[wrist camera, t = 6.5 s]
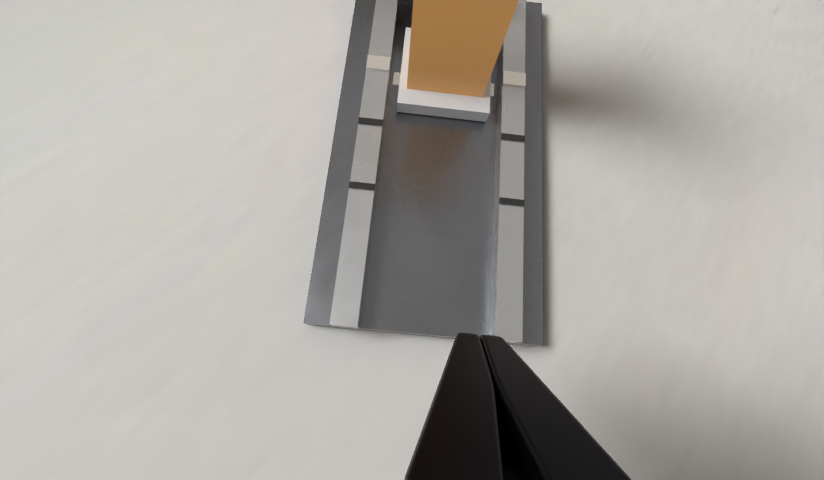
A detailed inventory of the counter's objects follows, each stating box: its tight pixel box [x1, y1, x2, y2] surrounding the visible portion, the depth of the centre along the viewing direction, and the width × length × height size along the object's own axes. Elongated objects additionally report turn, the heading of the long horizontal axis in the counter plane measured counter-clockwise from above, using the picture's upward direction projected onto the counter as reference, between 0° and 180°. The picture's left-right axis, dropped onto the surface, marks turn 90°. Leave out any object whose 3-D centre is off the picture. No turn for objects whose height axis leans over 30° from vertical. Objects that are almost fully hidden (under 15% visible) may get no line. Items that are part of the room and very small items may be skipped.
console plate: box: [304, 0, 543, 346], centre depth 20 cm, size 20×11×3 cm, turn 175°
